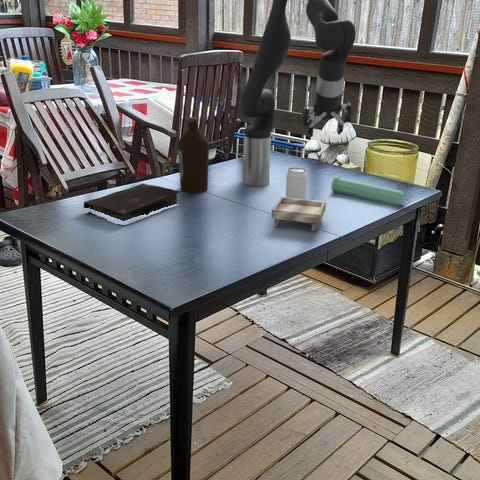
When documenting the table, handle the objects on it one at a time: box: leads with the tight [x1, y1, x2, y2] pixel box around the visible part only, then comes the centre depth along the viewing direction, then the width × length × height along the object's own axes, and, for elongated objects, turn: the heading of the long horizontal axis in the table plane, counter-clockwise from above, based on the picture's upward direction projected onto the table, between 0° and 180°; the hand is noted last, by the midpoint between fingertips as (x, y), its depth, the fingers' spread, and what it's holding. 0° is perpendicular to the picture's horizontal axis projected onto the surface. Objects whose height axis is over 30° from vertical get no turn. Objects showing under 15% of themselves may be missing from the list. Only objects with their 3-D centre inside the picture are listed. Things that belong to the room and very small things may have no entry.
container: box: [330, 175, 406, 206], centre depth 200 cm, size 6×6×25 cm
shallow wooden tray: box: [271, 196, 327, 232], centre depth 176 cm, size 14×12×6 cm
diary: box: [83, 183, 181, 221], centre depth 186 cm, size 19×25×5 cm
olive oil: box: [177, 116, 210, 194], centre depth 202 cm, size 11×11×25 cm
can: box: [285, 166, 308, 200], centre depth 190 cm, size 6×6×12 cm
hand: (324, 134), depth 180 cm, fingers open, 8 cm apart
